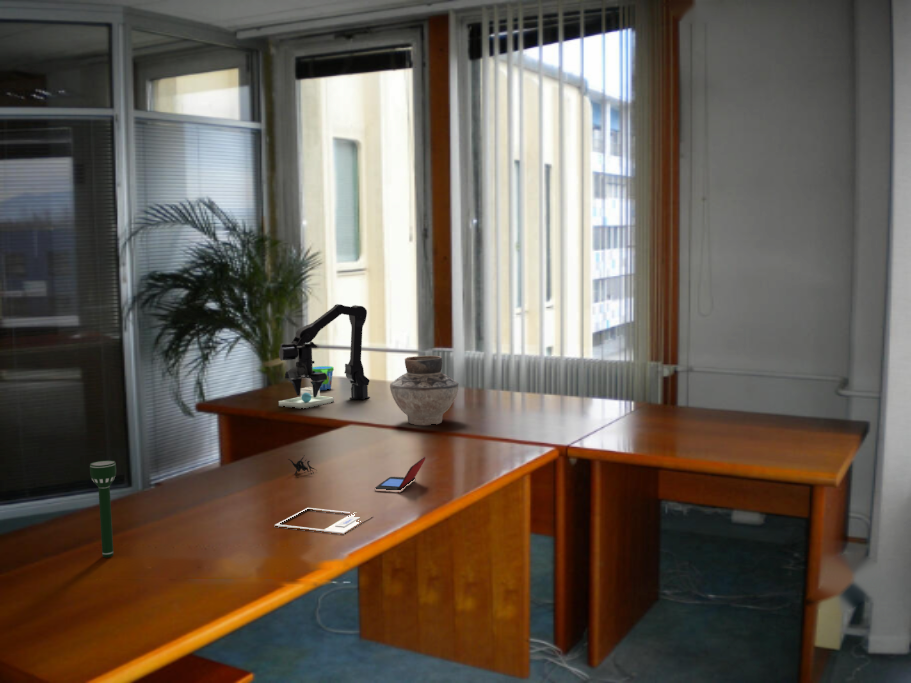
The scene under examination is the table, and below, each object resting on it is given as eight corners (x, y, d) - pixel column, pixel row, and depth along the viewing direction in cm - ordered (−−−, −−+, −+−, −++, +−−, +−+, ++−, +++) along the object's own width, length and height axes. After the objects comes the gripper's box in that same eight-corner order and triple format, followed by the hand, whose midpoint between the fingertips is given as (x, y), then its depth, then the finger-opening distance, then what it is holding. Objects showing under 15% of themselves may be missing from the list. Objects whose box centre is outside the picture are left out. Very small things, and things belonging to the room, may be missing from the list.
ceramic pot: (381, 427, 324) (380, 361, 321) (402, 415, 348) (400, 353, 345) (449, 430, 318) (448, 362, 316) (465, 416, 342) (465, 353, 340)
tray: (334, 402, 380) (333, 397, 379) (304, 408, 365) (303, 403, 365) (309, 399, 387) (309, 394, 387) (278, 406, 373) (278, 401, 372)
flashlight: (124, 551, 194) (119, 459, 192) (116, 560, 189) (110, 465, 187) (100, 552, 194) (94, 460, 191) (91, 560, 188) (85, 466, 186)
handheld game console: (390, 480, 251) (389, 454, 250) (427, 482, 248) (426, 456, 247) (373, 492, 239) (372, 464, 238) (411, 495, 236) (411, 466, 235)
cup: (323, 397, 394) (323, 387, 393) (310, 399, 387) (310, 390, 386) (309, 395, 398) (309, 386, 398) (297, 398, 391) (296, 388, 391)
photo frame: (343, 531, 203) (274, 524, 210) (343, 536, 203) (274, 528, 210) (373, 513, 216) (307, 506, 223) (373, 518, 216) (307, 511, 223)
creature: (322, 477, 259) (304, 467, 264) (325, 460, 258) (307, 450, 263) (301, 483, 253) (283, 472, 258) (303, 465, 252) (285, 455, 257)
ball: (313, 401, 377) (313, 392, 376) (306, 403, 373) (306, 393, 373) (306, 401, 379) (305, 391, 378) (299, 402, 375) (299, 393, 375)
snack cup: (309, 387, 421) (309, 365, 420) (332, 386, 424) (331, 364, 423) (312, 392, 406) (311, 370, 405) (335, 391, 409) (335, 369, 408)
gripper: (274, 359, 373) (276, 397, 374) (308, 362, 362) (309, 401, 364) (293, 356, 382) (295, 393, 384) (327, 359, 372) (328, 397, 373)
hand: (306, 396), depth 376 cm, fingers open, 9 cm apart
